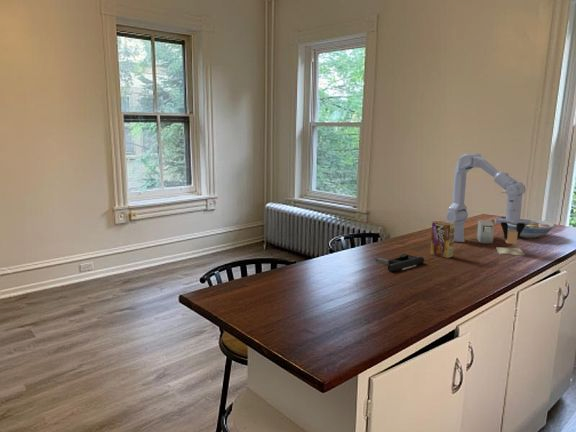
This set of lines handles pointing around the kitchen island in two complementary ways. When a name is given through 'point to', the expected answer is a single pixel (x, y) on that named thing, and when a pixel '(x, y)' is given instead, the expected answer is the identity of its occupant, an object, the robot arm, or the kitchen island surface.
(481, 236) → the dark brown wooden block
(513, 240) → the tan rectangular block
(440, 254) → the candy box
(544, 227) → the ramen bowl
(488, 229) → the white long bar
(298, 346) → the kitchen island surface
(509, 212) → the robot arm
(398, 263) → the door handle
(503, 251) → the pad
